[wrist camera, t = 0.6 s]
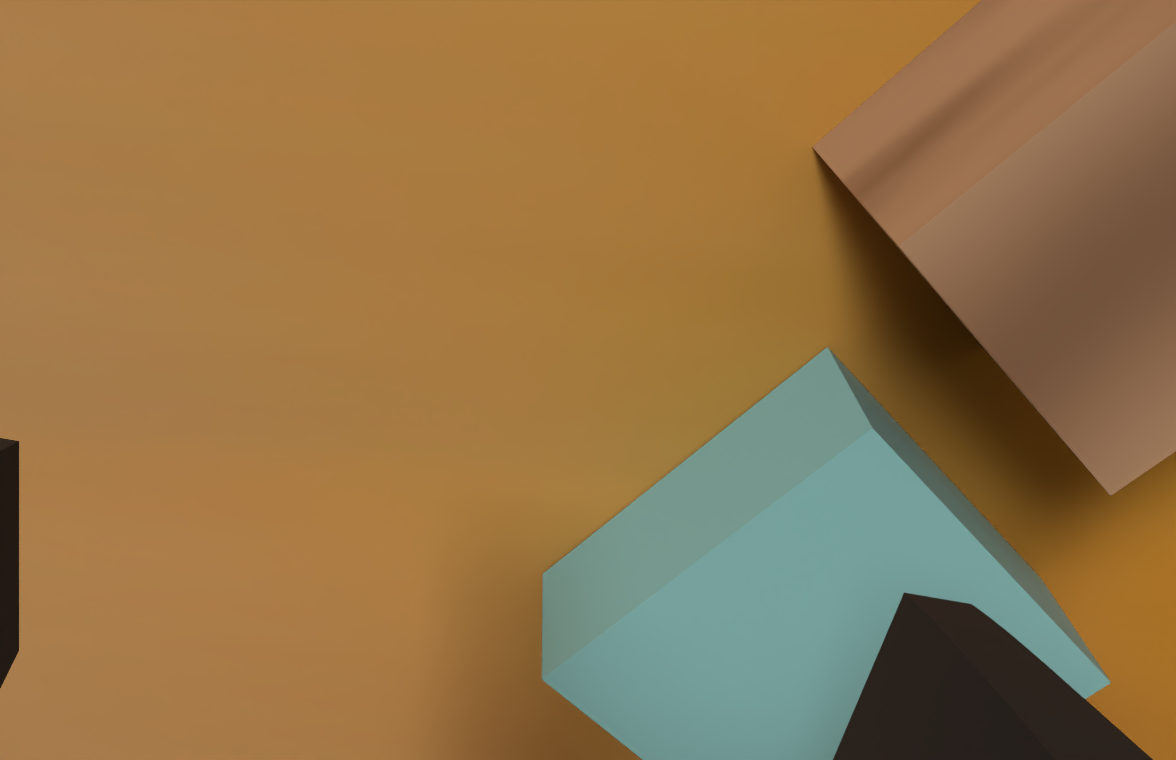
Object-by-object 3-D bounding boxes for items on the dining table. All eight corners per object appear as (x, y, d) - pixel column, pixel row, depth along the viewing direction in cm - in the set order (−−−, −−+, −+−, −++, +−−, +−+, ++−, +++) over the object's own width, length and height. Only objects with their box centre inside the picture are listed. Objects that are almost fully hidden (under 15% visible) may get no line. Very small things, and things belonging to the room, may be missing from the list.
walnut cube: (1231, 157, 18) (1456, 259, 14) (981, 347, 20) (1110, 495, 15) (1072, -81, 16) (1268, -55, 12) (811, 145, 18) (898, 246, 13)
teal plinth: (1041, 579, 22) (1111, 682, 19) (767, 763, 24) (795, 881, 21) (827, 346, 19) (872, 427, 17) (542, 573, 21) (542, 679, 19)
